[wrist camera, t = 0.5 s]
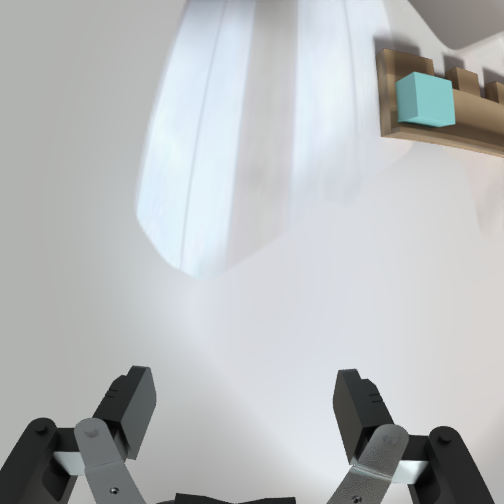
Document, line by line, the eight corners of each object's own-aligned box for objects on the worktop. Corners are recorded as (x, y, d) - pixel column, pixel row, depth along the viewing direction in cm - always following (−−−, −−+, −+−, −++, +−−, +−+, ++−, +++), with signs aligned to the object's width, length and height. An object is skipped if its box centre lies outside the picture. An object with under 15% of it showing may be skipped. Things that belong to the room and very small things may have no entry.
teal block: (395, 82, 30) (414, 71, 25) (430, 89, 30) (451, 81, 25) (397, 122, 31) (418, 116, 26) (432, 128, 31) (455, 123, 26)
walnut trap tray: (375, 56, 31) (393, 39, 26) (512, 95, 31) (536, 91, 25) (381, 136, 34) (402, 131, 28) (517, 161, 34) (542, 162, 28)
